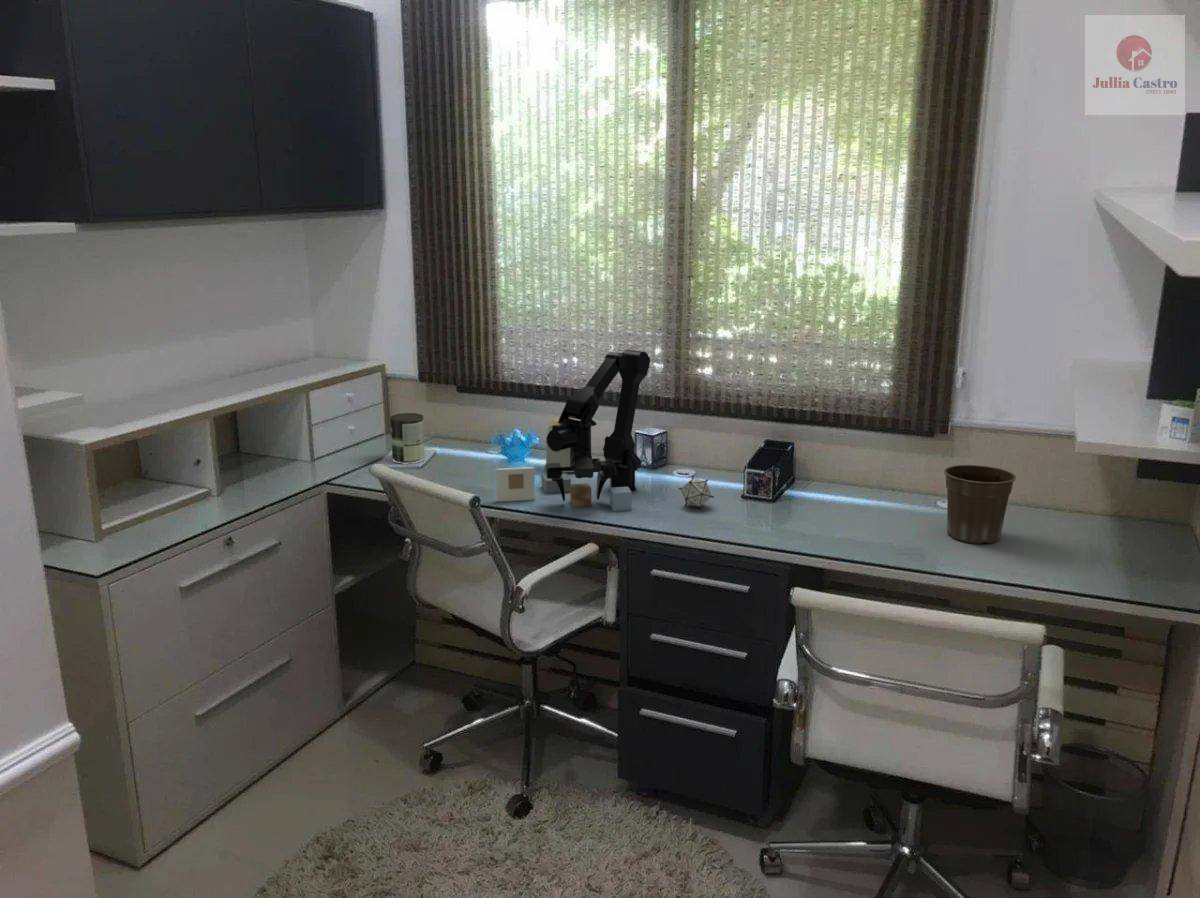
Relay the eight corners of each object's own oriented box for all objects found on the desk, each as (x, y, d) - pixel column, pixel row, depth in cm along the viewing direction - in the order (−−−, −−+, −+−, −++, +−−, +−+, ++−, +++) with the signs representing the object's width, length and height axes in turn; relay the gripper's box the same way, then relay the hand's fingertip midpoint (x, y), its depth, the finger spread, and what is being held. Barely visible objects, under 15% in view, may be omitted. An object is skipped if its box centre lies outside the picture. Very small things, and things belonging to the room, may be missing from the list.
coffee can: (387, 464, 301) (385, 419, 297) (397, 455, 311) (395, 412, 307) (420, 464, 300) (418, 420, 296) (429, 456, 310) (427, 413, 306)
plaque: (534, 498, 266) (533, 467, 264) (534, 500, 265) (534, 468, 263) (497, 500, 265) (496, 468, 262) (498, 501, 263) (497, 470, 261)
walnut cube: (588, 500, 265) (588, 483, 264) (591, 506, 260) (591, 488, 259) (570, 501, 264) (570, 484, 263) (572, 507, 259) (572, 489, 258)
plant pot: (945, 521, 248) (951, 460, 243) (1013, 532, 240) (1020, 469, 236) (931, 540, 234) (937, 476, 230) (1003, 552, 226) (1010, 486, 222)
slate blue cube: (627, 504, 262) (627, 486, 260) (631, 510, 257) (631, 492, 256) (609, 505, 261) (609, 487, 260) (612, 511, 256) (613, 493, 255)
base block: (565, 485, 279) (565, 472, 278) (570, 492, 272) (570, 479, 271) (541, 487, 277) (541, 474, 276) (546, 494, 271) (546, 481, 270)
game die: (702, 519, 261) (726, 492, 257) (684, 515, 254) (708, 488, 251) (684, 496, 266) (707, 470, 262) (666, 492, 259) (689, 465, 256)
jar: (538, 471, 292) (537, 414, 288) (556, 461, 304) (556, 406, 299) (578, 476, 287) (577, 418, 283) (595, 465, 299) (594, 409, 294)
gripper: (549, 453, 249) (549, 511, 253) (620, 450, 252) (620, 507, 256) (544, 442, 259) (545, 498, 263) (612, 439, 262) (612, 494, 266)
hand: (580, 499), depth 262 cm, fingers open, 9 cm apart
